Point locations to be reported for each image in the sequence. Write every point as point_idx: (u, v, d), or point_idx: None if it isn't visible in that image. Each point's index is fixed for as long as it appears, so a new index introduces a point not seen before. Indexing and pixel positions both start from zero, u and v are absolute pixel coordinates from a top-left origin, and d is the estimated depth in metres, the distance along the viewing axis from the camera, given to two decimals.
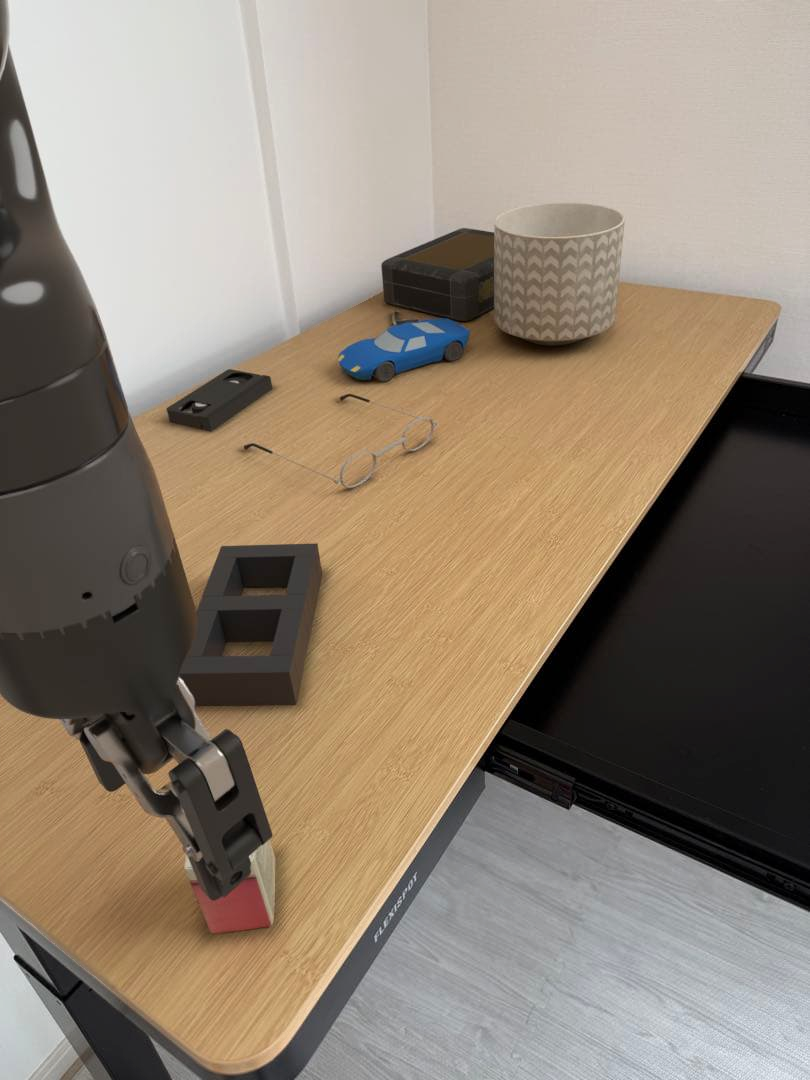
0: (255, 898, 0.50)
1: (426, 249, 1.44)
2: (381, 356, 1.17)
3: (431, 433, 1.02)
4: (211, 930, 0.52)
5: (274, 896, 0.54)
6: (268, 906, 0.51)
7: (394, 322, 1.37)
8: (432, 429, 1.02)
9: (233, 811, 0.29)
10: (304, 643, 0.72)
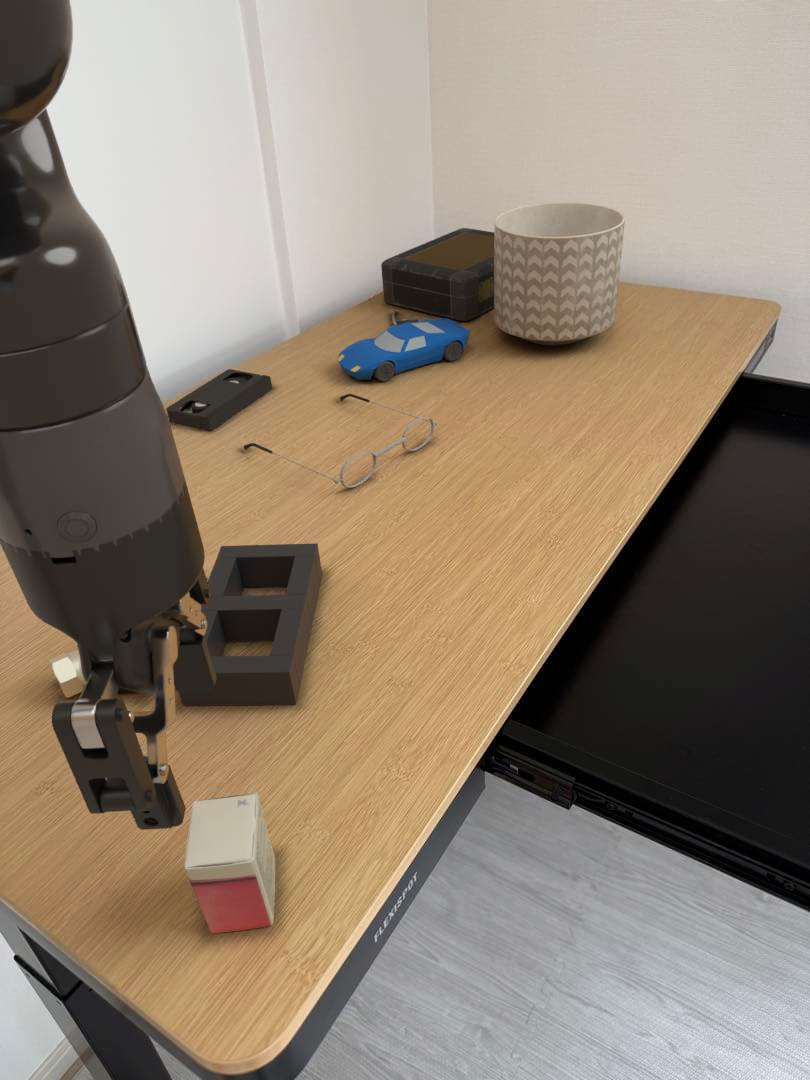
0: (255, 898, 0.50)
1: (426, 249, 1.44)
2: (381, 356, 1.17)
3: (431, 433, 1.02)
4: (211, 930, 0.52)
5: (274, 896, 0.54)
6: (268, 906, 0.51)
7: (394, 322, 1.37)
8: (432, 429, 1.02)
9: (101, 767, 0.31)
10: (304, 643, 0.72)
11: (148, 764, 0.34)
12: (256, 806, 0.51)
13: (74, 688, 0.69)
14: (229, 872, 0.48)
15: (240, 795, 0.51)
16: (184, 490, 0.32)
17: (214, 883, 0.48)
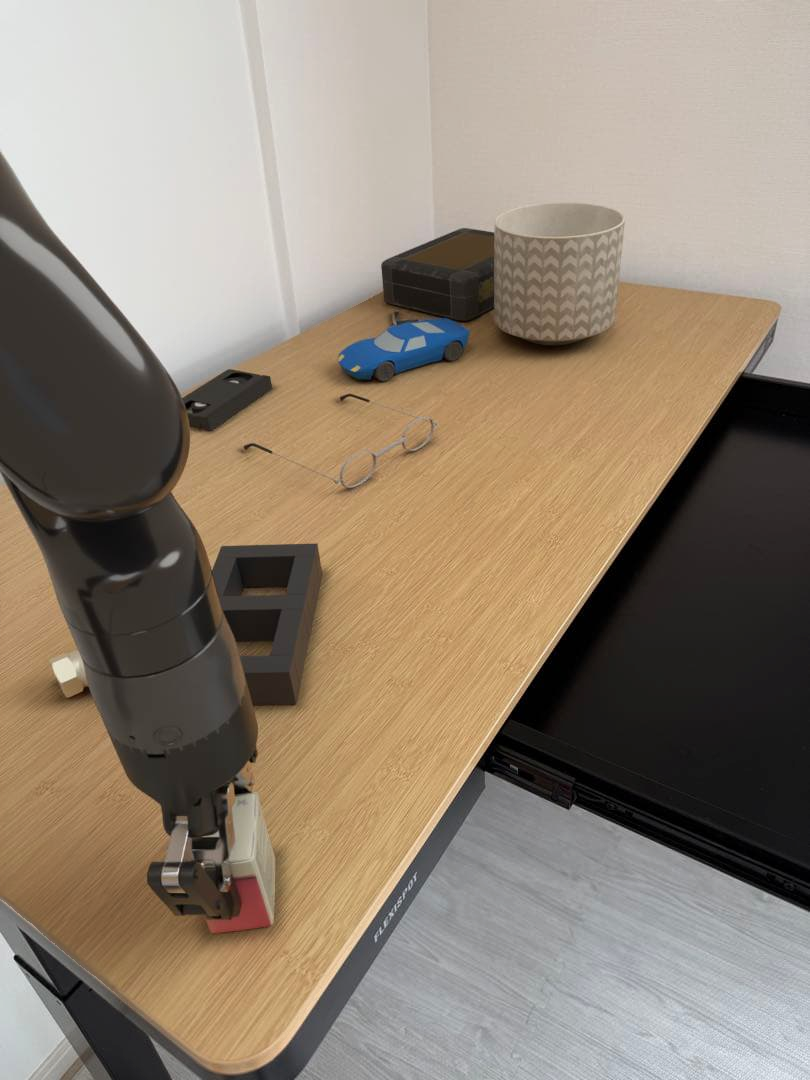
0: (255, 898, 0.50)
1: (426, 249, 1.44)
2: (381, 356, 1.17)
3: (431, 433, 1.02)
4: (211, 930, 0.52)
5: (274, 896, 0.54)
6: (268, 906, 0.51)
7: (394, 322, 1.37)
8: (432, 429, 1.02)
9: (183, 900, 0.42)
10: (304, 643, 0.72)
11: None
12: (256, 806, 0.51)
13: (74, 688, 0.69)
14: None
15: (240, 795, 0.51)
16: (245, 692, 0.42)
17: None
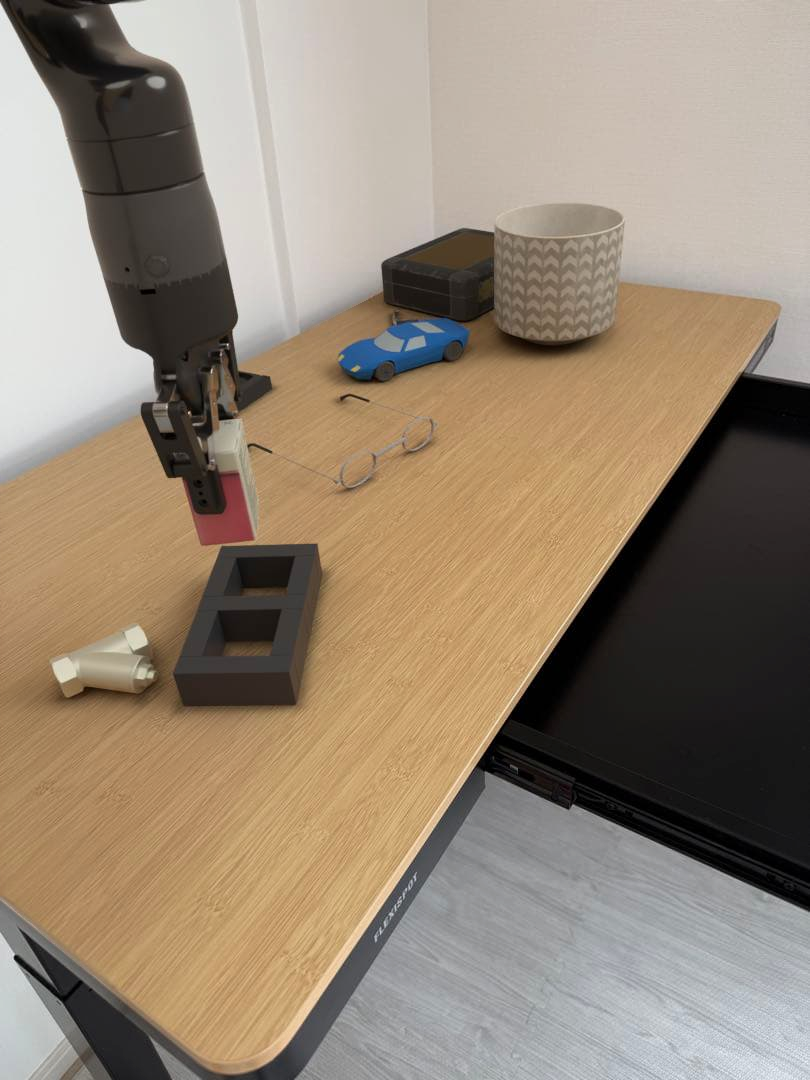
0: (239, 501, 0.57)
1: (426, 249, 1.44)
2: (381, 356, 1.17)
3: (431, 433, 1.02)
4: (201, 541, 0.58)
5: (257, 523, 0.60)
6: (251, 516, 0.58)
7: (394, 322, 1.37)
8: (432, 429, 1.02)
9: (172, 445, 0.49)
10: (304, 643, 0.72)
11: (203, 454, 0.53)
12: (240, 425, 0.57)
13: (74, 688, 0.69)
14: None
15: (226, 420, 0.58)
16: (225, 262, 0.49)
17: None
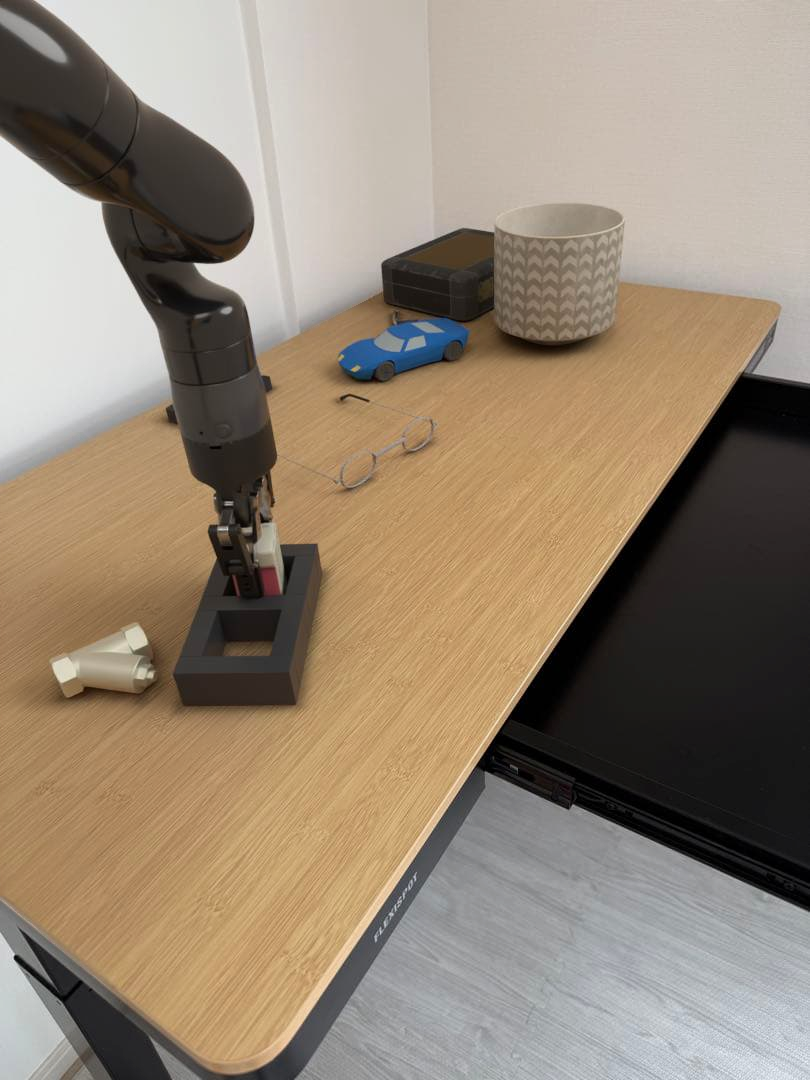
0: (274, 587, 0.74)
1: (426, 249, 1.44)
2: (382, 356, 1.17)
3: (431, 433, 1.02)
4: None
5: None
6: None
7: (394, 322, 1.37)
8: (432, 429, 1.02)
9: (230, 554, 0.66)
10: (304, 643, 0.72)
11: (249, 556, 0.70)
12: (275, 528, 0.75)
13: (74, 688, 0.69)
14: None
15: (264, 523, 0.75)
16: (269, 420, 0.66)
17: None
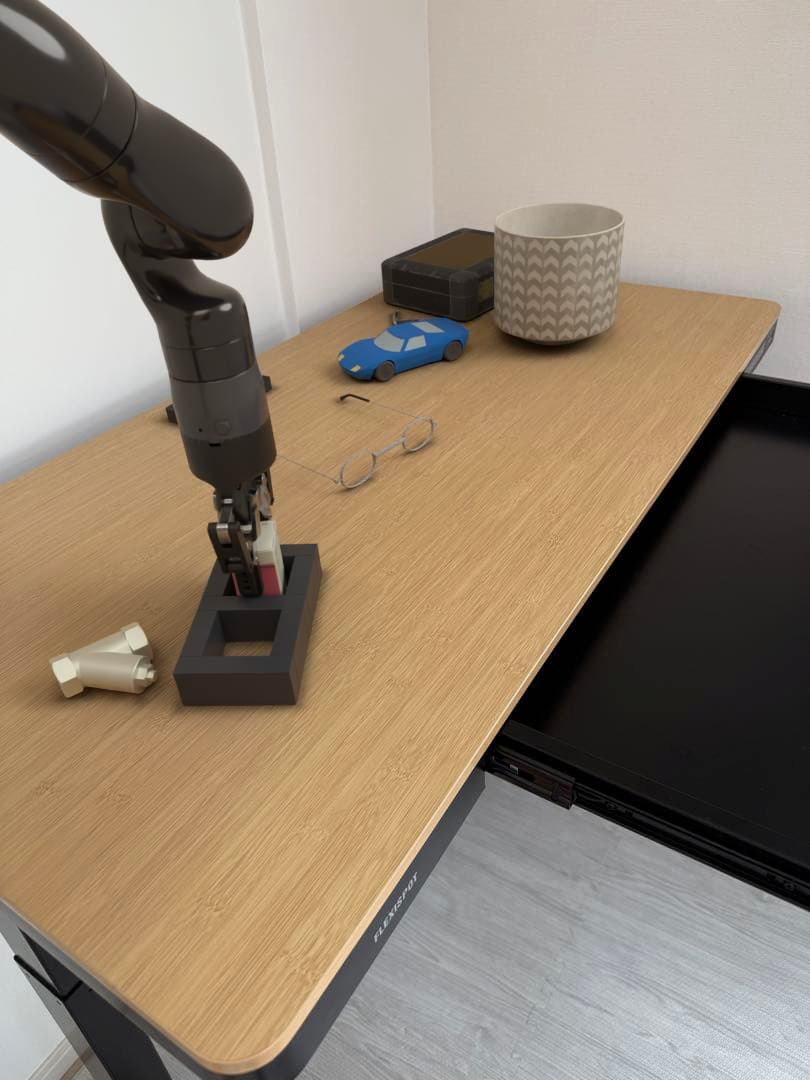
0: (274, 585, 0.74)
1: (426, 249, 1.44)
2: (382, 356, 1.17)
3: (431, 433, 1.02)
4: None
5: None
6: None
7: (394, 322, 1.37)
8: (432, 429, 1.02)
9: (229, 552, 0.66)
10: (304, 643, 0.72)
11: None
12: (274, 526, 0.74)
13: (74, 688, 0.69)
14: None
15: (263, 521, 0.75)
16: (269, 417, 0.66)
17: None
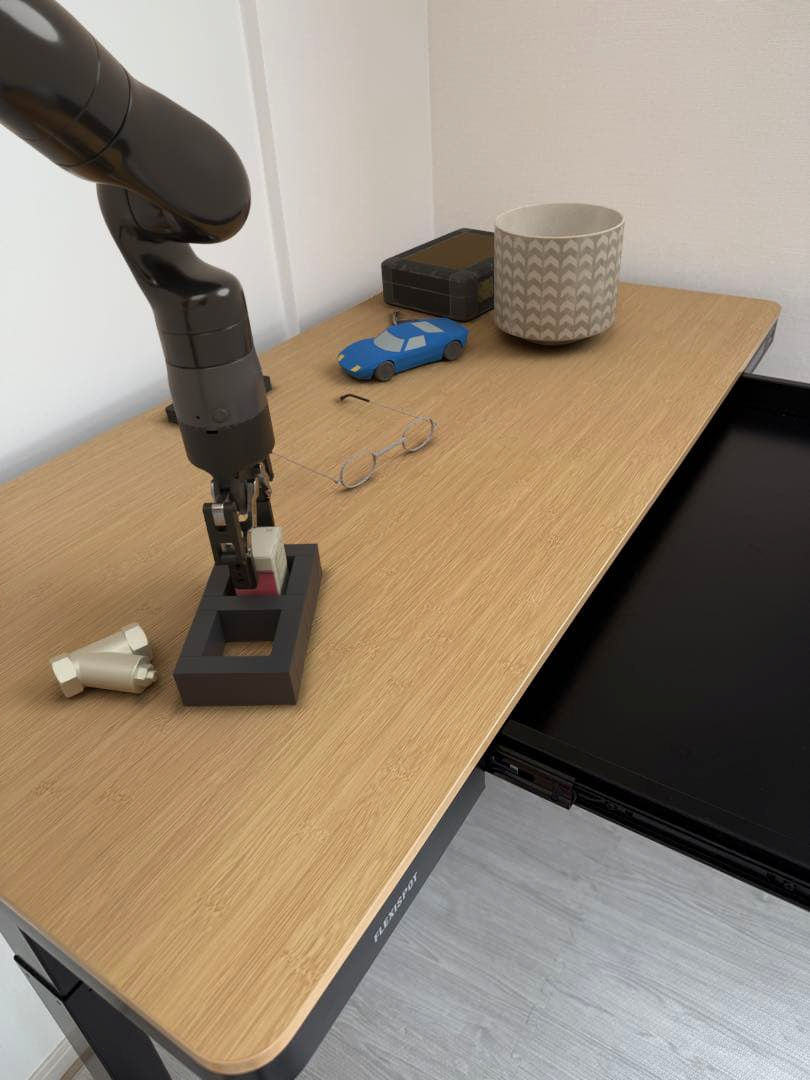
0: (272, 592, 0.74)
1: (426, 249, 1.44)
2: (382, 356, 1.17)
3: (431, 433, 1.02)
4: None
5: None
6: None
7: (394, 322, 1.37)
8: (432, 429, 1.02)
9: (223, 536, 0.65)
10: (304, 643, 0.72)
11: None
12: (278, 533, 0.75)
13: (74, 688, 0.69)
14: (256, 565, 0.72)
15: (269, 527, 0.76)
16: (267, 404, 0.65)
17: None
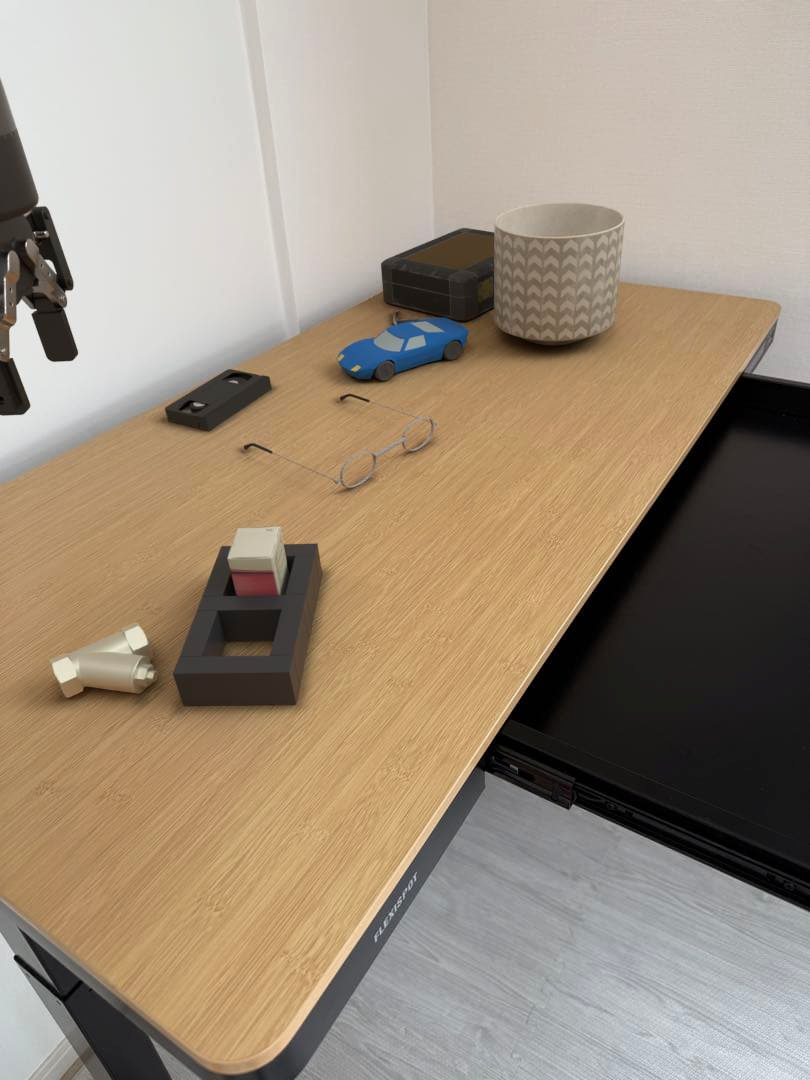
0: (272, 592, 0.74)
1: (426, 249, 1.44)
2: (382, 355, 1.17)
3: (431, 433, 1.02)
4: None
5: None
6: None
7: (394, 322, 1.37)
8: (432, 429, 1.02)
9: None
10: (304, 643, 0.72)
11: None
12: (278, 533, 0.75)
13: (74, 688, 0.69)
14: (256, 565, 0.72)
15: (269, 527, 0.76)
16: (13, 135, 0.47)
17: (246, 573, 0.73)
